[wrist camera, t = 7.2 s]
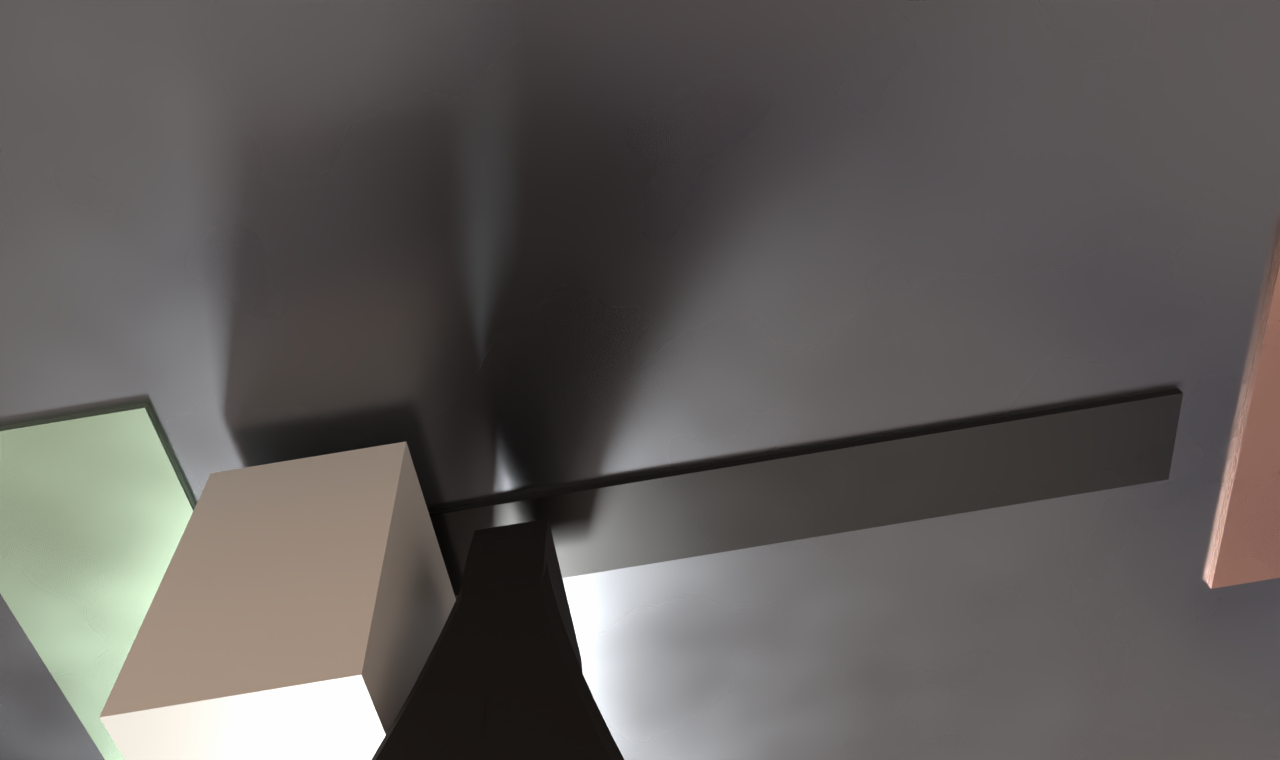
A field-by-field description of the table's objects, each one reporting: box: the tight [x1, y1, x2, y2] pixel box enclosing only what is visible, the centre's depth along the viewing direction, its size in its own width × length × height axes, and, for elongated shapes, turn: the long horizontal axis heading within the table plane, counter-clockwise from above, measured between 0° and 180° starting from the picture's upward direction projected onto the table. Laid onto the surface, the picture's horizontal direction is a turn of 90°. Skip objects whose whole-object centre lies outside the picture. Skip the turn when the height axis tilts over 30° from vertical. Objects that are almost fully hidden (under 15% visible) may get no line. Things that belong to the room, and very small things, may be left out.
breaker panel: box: [0, 0, 1280, 760], centre depth 15 cm, size 20×24×2 cm
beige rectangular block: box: [99, 442, 456, 760], centre depth 10 cm, size 2×4×3 cm, turn 8°
